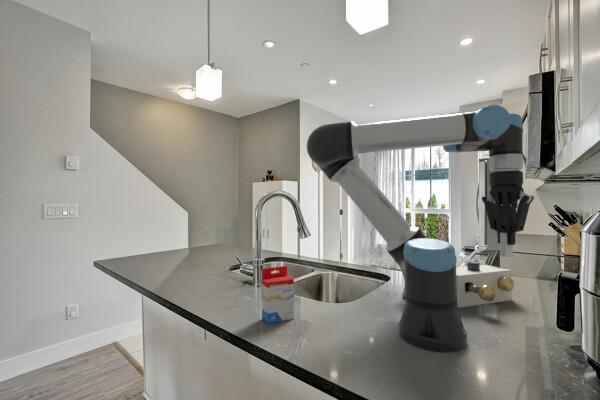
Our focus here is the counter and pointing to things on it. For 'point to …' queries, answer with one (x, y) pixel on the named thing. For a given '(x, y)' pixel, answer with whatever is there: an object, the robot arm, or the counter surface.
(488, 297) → the knob left
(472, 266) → the dial
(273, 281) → the ink box
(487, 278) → the console
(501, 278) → the knob right
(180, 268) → the counter surface
